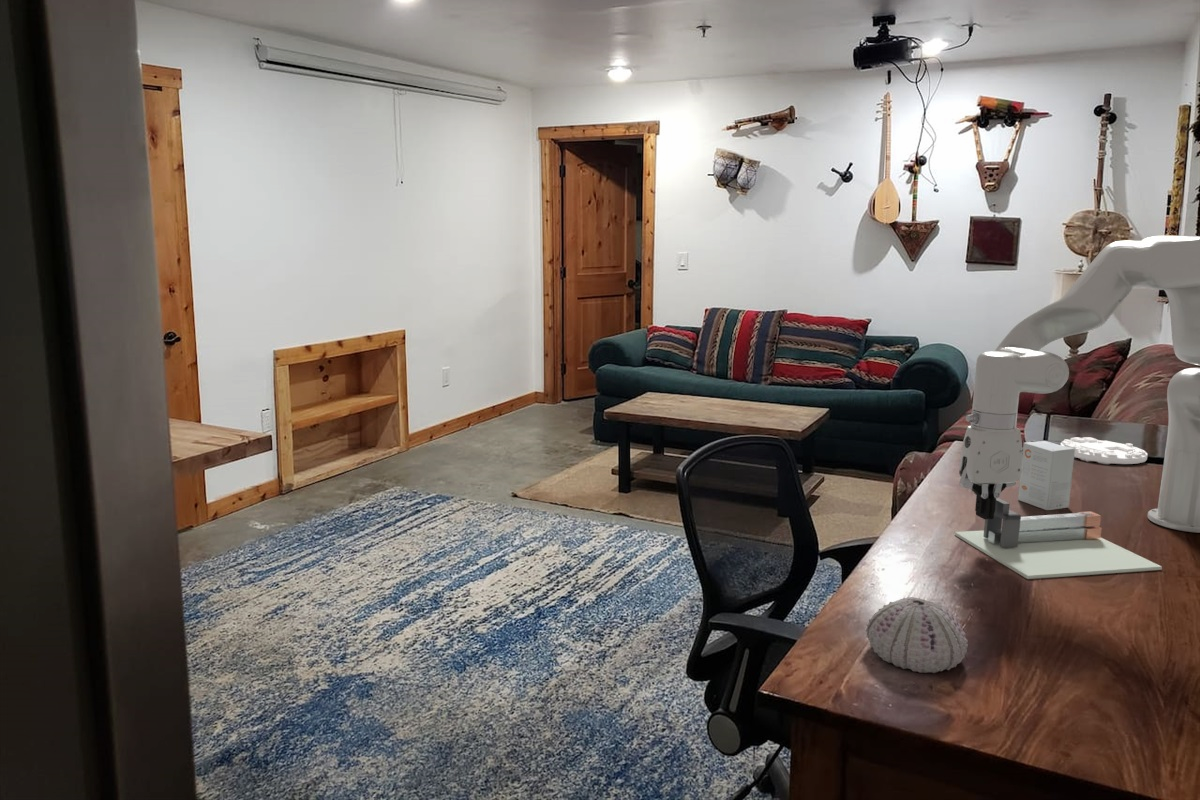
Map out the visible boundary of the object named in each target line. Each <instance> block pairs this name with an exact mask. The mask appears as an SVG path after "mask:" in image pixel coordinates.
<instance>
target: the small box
mask: <svg viewBox="0 0 1200 800" xmlns="http://www.w3.org/2000/svg"><path fill="white" fill-rule="evenodd" d="M1074 453H1075V449H1073V448H1069V447H1066V446H1062V445H1060V444H1058V443H1053V442H1051V441H1047V440H1040V441H1038V440H1037V441H1027V442H1026V441H1025V442H1023V443H1022V472H1021V477H1020V479H1019V487H1018V494H1017V495H1018V496H1017V500H1018V501H1020V502H1023V503H1026V504H1029V505H1031V506H1034V507H1037V508H1040V509H1042V510H1045V511H1054V510H1062V509H1066V508H1067V509H1068V508H1069V507H1070V500H1071V499H1070V498H1071V490H1072V479H1073V471H1074V462H1075V457H1074Z"/></svg>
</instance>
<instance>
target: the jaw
mask: <svg viewBox="0 0 1200 800" xmlns="http://www.w3.org/2000/svg"><path fill="white" fill-rule="evenodd" d="M1101 521H1102V515H1100V514H1099V513H1096V512H1094V511H1080V512H1079V511H1078V512H1076V513H1075V512H1073V513H1058V514H1057V513H1056V514H1046V515H1045V514H1043V515H1030V516H1027V515H1026V516H1021V519H1020V529H1019V531H1022V530H1036V529H1050V528H1064V527H1079V526H1086V527H1090V526H1098V527H1101Z"/></svg>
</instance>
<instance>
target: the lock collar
mask: <svg viewBox="0 0 1200 800" xmlns="http://www.w3.org/2000/svg"><path fill="white" fill-rule="evenodd" d="M1021 517H1022V516H1021V514H1019V513H1018V512H1015V511H1014V510H1012V509H1010V502H1008V501H1005V500H1004V499H1001V498H1000V497H999V498H996V506H995V512H994V518H993V519H989V518H988V519H984V529H983V530H984V536H983V537H985V538H988V536H989V530H1001V529H1002V533H1001V543H1000V547H1002V548H1009V547H1018V538H1019V529H1020V519H1021Z"/></svg>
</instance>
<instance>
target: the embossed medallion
mask: <svg viewBox="0 0 1200 800" xmlns="http://www.w3.org/2000/svg"><path fill="white" fill-rule="evenodd" d="M1059 445H1062V446H1066V447H1069V448H1073V449H1075V453H1074V459H1076V458H1078V459H1080V460H1081V461H1085V462H1096V463H1097V464H1103V465H1110V464H1116V465H1133V464H1135V465H1136V464H1140V463H1141V464H1142V463H1145V462H1146V461H1147V460H1148V454H1149V453H1148V452H1147V451H1146V450H1144V449H1142V448H1139V447H1137V446H1133V445H1134V444H1133V443H1128V442H1126V443H1120V442H1116V441H1115V442H1114V441H1110V440H1107V439H1106V440H1100V439H1097V438H1095V437H1089V436H1085V437H1084V436H1083V437H1079V436H1078V437H1077V436H1074V437H1070V439H1066V438H1064V440H1062V441H1060V444H1059Z"/></svg>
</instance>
